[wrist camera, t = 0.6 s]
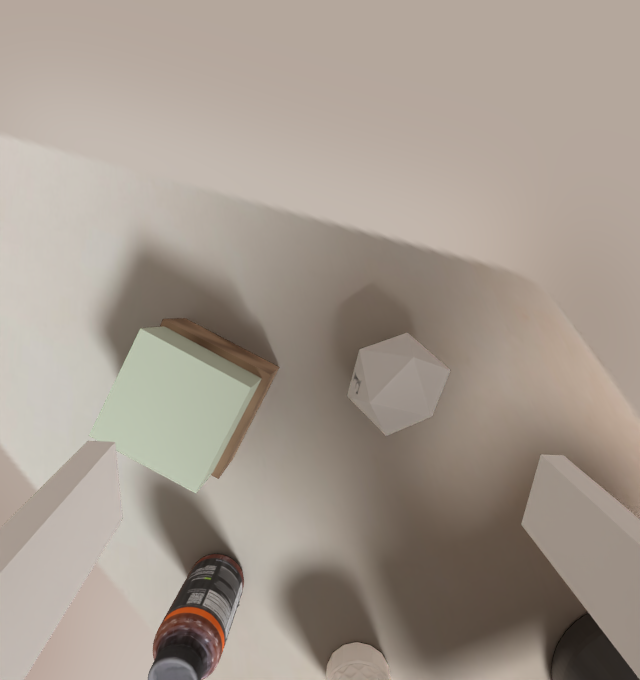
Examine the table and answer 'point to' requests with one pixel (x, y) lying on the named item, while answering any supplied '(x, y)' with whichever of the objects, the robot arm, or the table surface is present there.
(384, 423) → the die
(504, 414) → the table surface
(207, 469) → the sage block
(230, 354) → the walnut slab
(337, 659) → the white cup
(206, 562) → the supplement bottle
